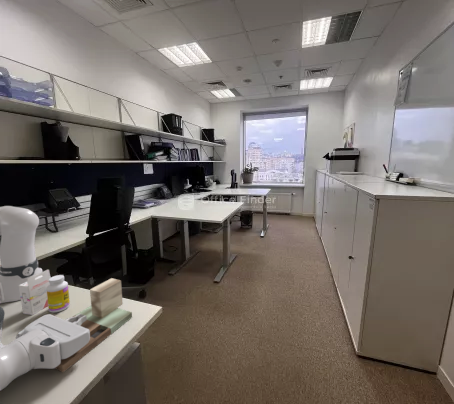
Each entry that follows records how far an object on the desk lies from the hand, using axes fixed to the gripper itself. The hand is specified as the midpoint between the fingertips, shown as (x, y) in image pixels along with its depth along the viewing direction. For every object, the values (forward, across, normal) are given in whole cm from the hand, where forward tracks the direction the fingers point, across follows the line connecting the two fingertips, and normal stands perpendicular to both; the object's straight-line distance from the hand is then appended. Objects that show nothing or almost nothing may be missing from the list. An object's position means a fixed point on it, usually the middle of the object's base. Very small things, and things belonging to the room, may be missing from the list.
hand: (83, 316), depth 71 cm
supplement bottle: (+6, -23, -6) cm, 24 cm away
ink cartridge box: (+3, -31, -7) cm, 32 cm away
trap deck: (+1, -1, -6) cm, 6 cm away
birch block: (+10, -2, -4) cm, 11 cm away
